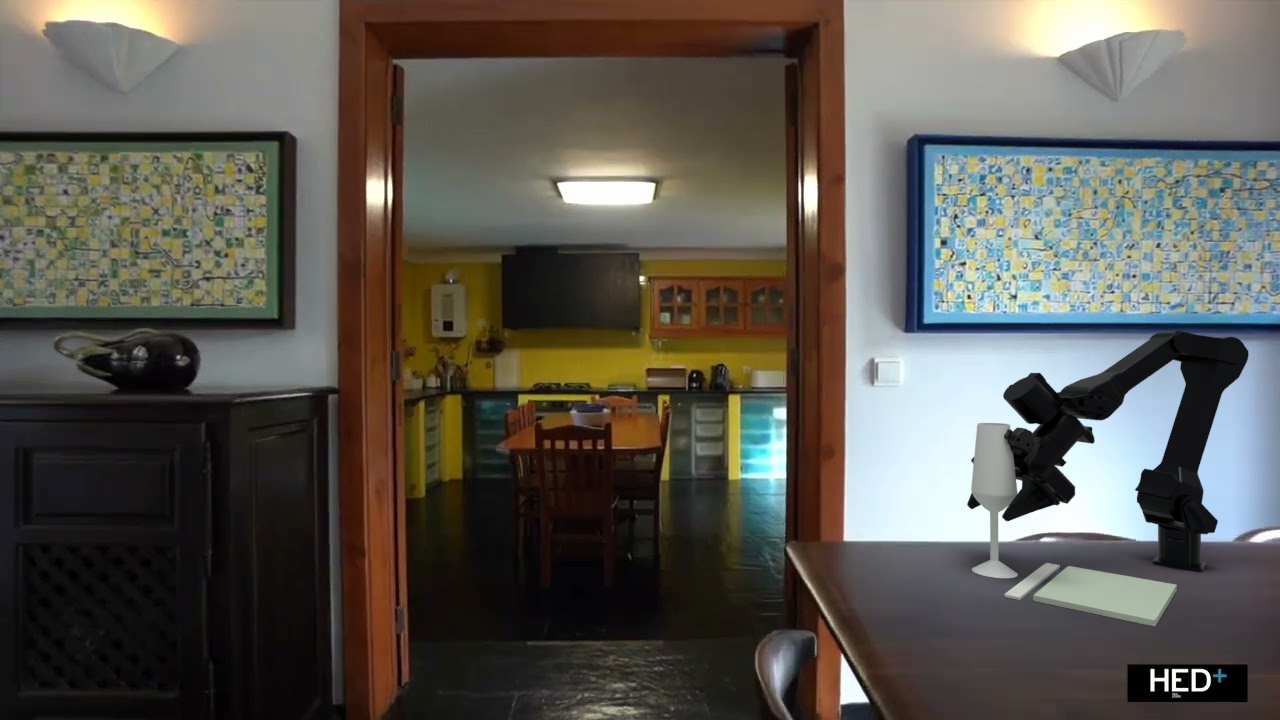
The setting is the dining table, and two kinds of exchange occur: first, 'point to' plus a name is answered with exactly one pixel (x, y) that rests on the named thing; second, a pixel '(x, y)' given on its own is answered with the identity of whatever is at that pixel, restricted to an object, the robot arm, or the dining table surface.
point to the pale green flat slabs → (1099, 593)
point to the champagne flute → (993, 487)
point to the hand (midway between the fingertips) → (986, 513)
